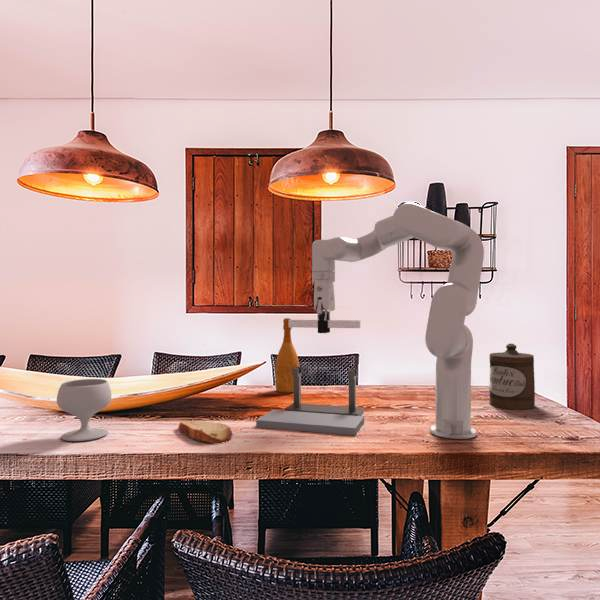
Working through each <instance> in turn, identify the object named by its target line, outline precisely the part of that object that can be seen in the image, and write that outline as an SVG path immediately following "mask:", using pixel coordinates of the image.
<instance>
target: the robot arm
mask: <svg viewBox="0 0 600 600" xmlns="http://www.w3.org/2000/svg"><path fill="white" fill-rule="evenodd" d="M414 238H415V239H417V240H420V241H422V242H424V243H425V244H428V245H429V246H430V245H431V246H432V247H434V248H437V249H440V250H444V251H449V252H451V253H452V260H451V262H450V266H449V270H448V276H447V283H445V284H443V285H441V286H439V288H437V290H436V291H435V292H434V294H433V296H432V298H431V303H430V309H429V311H428V318H427V325H426V330H425V337H424V338H425V339H424V340H425V345H426V348H427V350H428V352H429V353H430V354H431V355H432V356H434V357H435V358H436V362H435V424H433V425H431V426H430V427H429V432H430V433H431V434H432V435H434V436H436V437H441V438H445V439H452V440H453V439H454V440H467V439H472V438H475V437H476V436H477V429H475V428H474V427H472V426H471V425H472V424H471V423H472V421H471V420H472V419H471V418H472V409H471V408H472V397H471V396H472V393H471V391H472V387H471V386H472V357H473V347H474V345H473V344H474V339H473V334H472V332H471V330H470V328H469V327H468V326H467V325H466V324H465V320H466V317H468V316H470V315H471V314H472V313H474V310H475V309H476V306H477V300H478V296H479V295H478V294H479V289H480V283H481V278H482V277H481V275H482V269H483V264H484V258H485V249H484V244H483V240H482V238H481V237H480V236H479V234H478V233H477V232H476V231H475V230H473V229H472V228H471V227H470V226H468V225H467V224H464V223H463V222H460V221H458V220H455V219H453V218H450V217H449V216H446V215H443V214H440V213H438V212H435V211H432V210H431V209H428V208H427V207H424V206H422V205H420V204H418V203H415V202H405V203H402V204H400V205H399V206H398V207H397V208H396V209H395V210H394V212H393V214H392V215H391V216H388V217H386V218H383V219H380V220H378V221H377V222H376V223H375V224H374V229H373V230H371V232H369V233H367V234H365V235H364V236H360V237H357V238H354V239H353V238H349V237H344V236H343V237H341V236H338V237H337V236H336V237H333V238H329V239H317V240H314V241H313V242H312V245H311V247H312V248H311V249H312V250H311V255H312V256H311V261H312V262H311V263H312V264H311V267H312V270H311V271H312V279H311V281H312V283H314V286H313V287H314V288H313V309H314V311H315V312H316V314H317V320H318V328H317V333H318V334H328V333H331V328H328V326H327V321H326V320H331V312H334V311H335V310H336V303H335V302H336V301H335V288H334V287H335V286H334V282H336V261H338V262H349V263H354V262H355V263H356V262H359V261H363V260H365V259H367V258H368V259H369V258H371V257H373V256H376V255H378V254H380V253H381V252H383V251H385V250H386V249H388V248H390V247H392V246H395V245H398V244H400V243H403V242H405V241H408V240H409V241H410V239H414Z"/></svg>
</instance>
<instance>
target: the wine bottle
mask: <svg viewBox="0 0 600 600" xmlns="http://www.w3.org/2000/svg"><path fill="white" fill-rule="evenodd" d="M288 320H292V318H288V317H287V318H286V317H285V318H284V319H283V326H282V329H283V338H282V339H283V340H282V343H281V346H280V348H279V350H278V354H277V356H276V360H275V370H274V372H275V374H274V375H275V390H276V391H277V392H279V393H281V394H282V393H286V394H289V393H290V394H291V393H292V392H293V393H294V377H293V376H292V368H296V367H300V362H299V357H298V354H297V351H296V349H295V347H294V343H293V341H292V334H291V330H292V329H293V327H289V322H288ZM293 393H292V394H293Z"/></svg>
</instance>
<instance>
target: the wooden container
mask: <svg viewBox="0 0 600 600" xmlns="http://www.w3.org/2000/svg"><path fill="white" fill-rule="evenodd" d="M505 348H506V350H505V351H504V352H490V353H489V381H488V382H489V383H488V385H489V388H488V389H489V404H490V405H491V406H493V407H496V408H500V409H505V408H506V409H507V410H515V409H518V410H521V409H525V410H530V409H531V408H532V409H534V408H536V407H535V406H536V403H535V402H536V400H535V399H536V397H535V396H536V391H535V390H536V386H535V383H536V381H535V365H534V364H535V358H534V357H535V355H534V354H531V353H524V352H518V350H517V345H516V344H514V343H508V344H506V346H505ZM532 409H531V410H532Z"/></svg>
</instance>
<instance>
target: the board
mask: <svg viewBox="0 0 600 600" xmlns="http://www.w3.org/2000/svg"><path fill="white" fill-rule="evenodd" d="M364 424H365V416H363V415H362V416H352V415H338V414H324V413H310V412H296V411H284V410H278V409H272V410H270V411H268V412H267V413H265V414H264V415H262V416H260V417H259V418H257V419H256V420H255V425H256V428H266V429H276V430H277V429H278V430H287V429H289V431H302V432H312V433H323V434H324V433H325V434H334V435H335V434H336V435H337V434H338V435H346V434H348V436H356V435H357V434H358V433H359V432H360V430H361V429H362V427H363V425H364ZM359 429H360V430H359ZM357 432H358V433H357Z"/></svg>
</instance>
